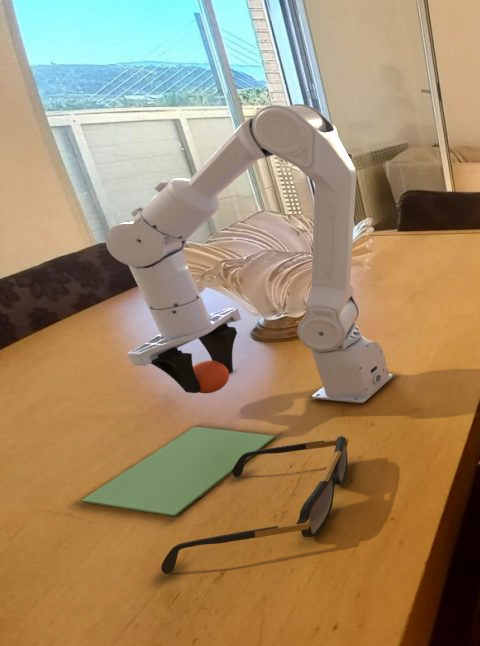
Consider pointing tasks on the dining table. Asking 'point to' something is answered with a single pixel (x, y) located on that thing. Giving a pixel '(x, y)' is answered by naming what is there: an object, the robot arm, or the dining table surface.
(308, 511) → the sunglasses
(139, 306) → the dining table surface
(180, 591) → the dining table surface
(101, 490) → the cloth
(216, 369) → the egg
